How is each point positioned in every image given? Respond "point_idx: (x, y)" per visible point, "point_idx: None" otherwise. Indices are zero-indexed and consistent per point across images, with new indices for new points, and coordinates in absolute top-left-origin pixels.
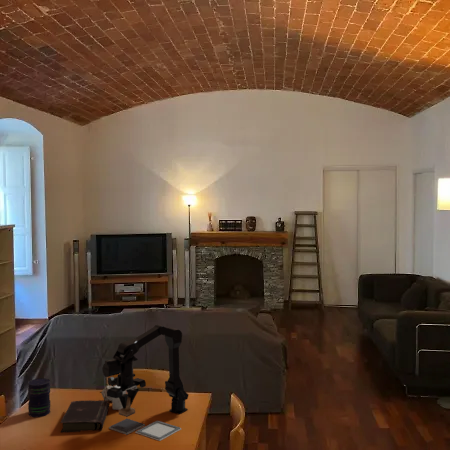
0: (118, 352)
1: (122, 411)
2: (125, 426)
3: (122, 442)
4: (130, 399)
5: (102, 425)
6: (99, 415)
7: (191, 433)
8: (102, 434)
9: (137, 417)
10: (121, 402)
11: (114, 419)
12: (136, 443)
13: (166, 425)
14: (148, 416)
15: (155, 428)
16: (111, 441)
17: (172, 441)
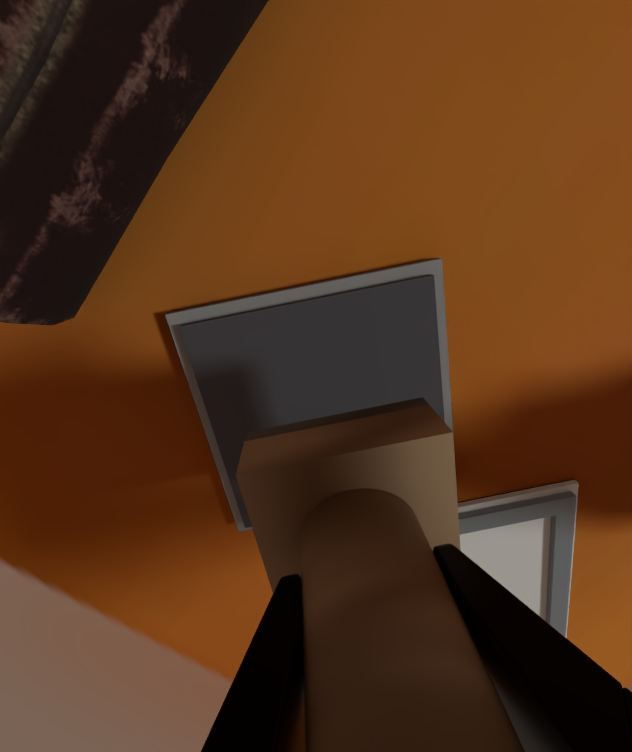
0: None
1: (259, 546)
2: None
3: (147, 595)
4: (521, 741)
5: (53, 324)
6: (68, 36)
7: None
8: (57, 387)
9: (550, 282)
10: (223, 734)
11: (349, 124)
12: (221, 650)
13: (547, 582)
14: (627, 340)
15: None
16: (79, 541)
17: None
